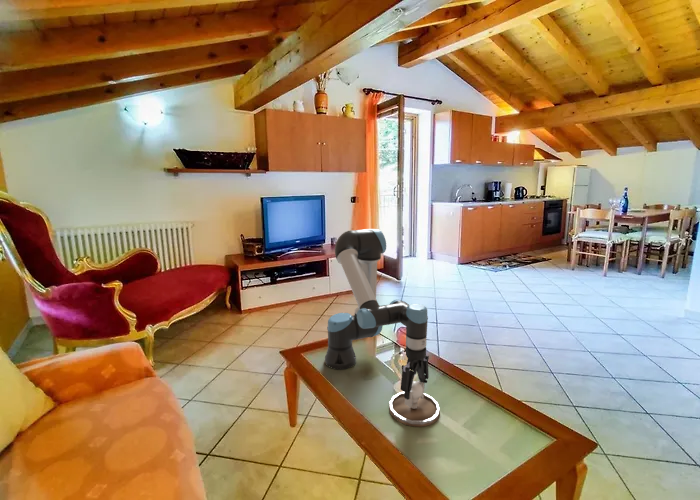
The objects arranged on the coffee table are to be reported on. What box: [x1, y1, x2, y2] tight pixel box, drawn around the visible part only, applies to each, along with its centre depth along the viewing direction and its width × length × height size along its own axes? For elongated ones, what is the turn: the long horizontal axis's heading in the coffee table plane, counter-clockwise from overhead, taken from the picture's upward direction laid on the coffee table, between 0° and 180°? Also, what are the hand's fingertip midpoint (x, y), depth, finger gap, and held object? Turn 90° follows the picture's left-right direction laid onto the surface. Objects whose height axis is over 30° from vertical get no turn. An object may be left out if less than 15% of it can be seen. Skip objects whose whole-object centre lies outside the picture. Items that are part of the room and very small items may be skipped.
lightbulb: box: [411, 380, 423, 409], centre depth 135 cm, size 6×6×11 cm
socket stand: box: [388, 391, 441, 428], centre depth 136 cm, size 19×19×2 cm
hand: (414, 401), depth 135 cm, fingers open, 7 cm apart
